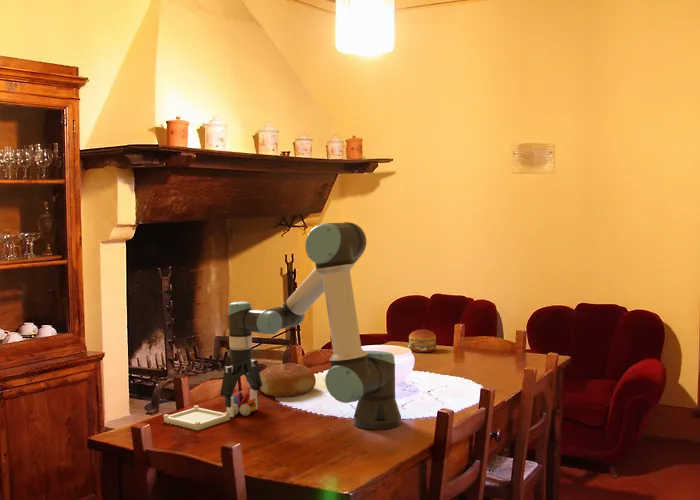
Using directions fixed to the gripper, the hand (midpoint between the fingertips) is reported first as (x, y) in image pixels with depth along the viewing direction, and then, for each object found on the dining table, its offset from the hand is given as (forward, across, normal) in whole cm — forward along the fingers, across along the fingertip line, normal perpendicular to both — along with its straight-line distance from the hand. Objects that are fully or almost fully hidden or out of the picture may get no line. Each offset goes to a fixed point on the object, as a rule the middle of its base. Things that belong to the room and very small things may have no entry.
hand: (242, 412), depth 263 cm
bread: (+1, -31, -8) cm, 32 cm away
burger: (+1, -123, -4) cm, 123 cm away
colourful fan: (+1, 0, 0) cm, 1 cm away
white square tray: (0, +15, -6) cm, 16 cm away
